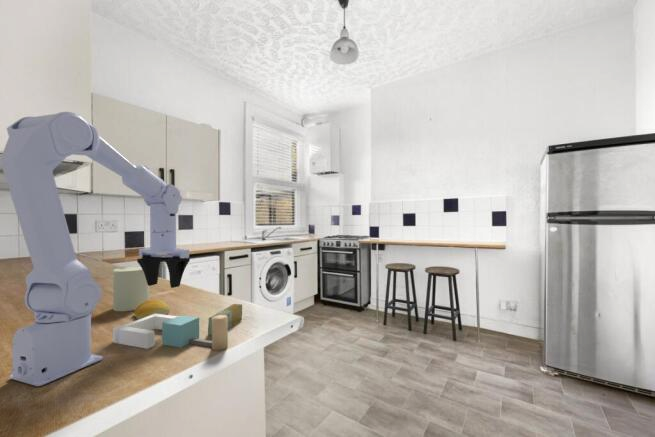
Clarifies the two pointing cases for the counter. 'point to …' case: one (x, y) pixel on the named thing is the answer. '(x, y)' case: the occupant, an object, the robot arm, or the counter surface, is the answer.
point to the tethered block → (194, 332)
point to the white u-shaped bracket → (140, 331)
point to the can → (129, 288)
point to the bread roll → (151, 308)
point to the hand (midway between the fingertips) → (163, 285)
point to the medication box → (228, 316)
